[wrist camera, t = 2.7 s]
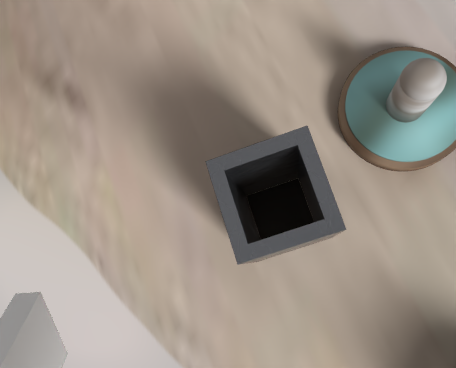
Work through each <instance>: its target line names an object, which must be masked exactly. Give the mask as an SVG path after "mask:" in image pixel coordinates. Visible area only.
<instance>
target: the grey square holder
mask: <svg viewBox="0 0 456 368" xmlns="http://www.w3.org/2000/svg"><path fill="white" fill-rule="evenodd" d="M206 165H207V168H208V171H209V174H210V177H211V181H212V184H213V187H214V190H215V193H216V197H217V200H218V203H219V206H220V210H221V213H222V216H223V219H224V222H225V226H226V229H227V232H228V235H229V238H230V242H231V245H232V248H233V251H234V254H235V258H236V261H237V264H245V263H252V262H258V261H261V260H264V259H267V258H270V257H273V256H276V255H279V254H283V253H286V252H289V251H292V250H295V249H298V248H301V247H304V246H307V245H310V244H314V243H317V242H320V241H323V240H326V239H329V238H332V237H334V236H335V235H337V234H339V233H341V232H343V231H344V230H346V227H345V225H344V222H343V219H342V217H341V214H340V211H339V209H338V206H337V203H336V201H335V198H334V195H333V193H332V190H331V187H330V185H329V182H328V179H327V177H326V174H325V171H324V169H323V166H322V163H321V161H320V158H319V155H318V153H317V150H316V147H315V145H314V142H313V139H312V137H311V134H310V131H309V129H308V126H305V127H302V128H299V129H296V130H293V131H290V132H288V133H285V134H282V135H279V136H276V137H273V138H271V139H268V140H265V141H262V142H259V143H256V144H254V145H251V146H248V147H245V148H242V149H239V150H237V151H234V152H231V153H228V154H225V155H222V156H220V157H217V158H214V159H211V160H208V161H206ZM295 179H299V182H300V185H301V188H302V190H303V193H304V196H305V199H306V202H307V204H308V207H309V210H310V213H311V215H312V218H313V221H314V223H311V224H308V225H305V226H302V227H299V228H296V229H293V230H290V231H287V232H284V233H281V234H278V235H274V236H271V237H268V238H265V239H262V240H261V238H260V235H259V232H258V229H257V226H256V223H255V220H254V217H253V214H252V211H251V208H250V204H249V201H248V198H247V196H248V195H251V194H254V193H257V192H260V191H263V190H266V189H269V188H271V187H274V186H277V185H280V184H283V183H286V182H289V181H292V180H295Z"/></svg>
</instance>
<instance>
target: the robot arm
mask: <svg viewBox="0 0 456 368" xmlns="http://www.w3.org/2000/svg"><path fill="white" fill-rule="evenodd" d="M67 354H68V353H67V351H66V348H65V346H64V344H63V342H62V339H61V337H60V335H59V332H58V330H57V328H56V326H55V324H54V321H53V319H52V317H51V314H50V312H49V310H48V308H47V306H46V303H45V301H44V299H43V297H42V294H41V292H35V293H20V294H15V296H14V297H13V299H12V300H11V302H10V304H9V305H8V307H7V309H6V310H5V312H4V313H3V315H2V317H1V318H0V368H62V367H63V364H64V362H65V359H66V357H67Z"/></svg>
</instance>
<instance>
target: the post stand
mask: <svg viewBox="0 0 456 368" xmlns="http://www.w3.org/2000/svg"><path fill="white" fill-rule="evenodd" d="M338 120H339V126H340V129H341V132H342V134H343V136H344V138H345V140H346V142H347V143H348V145H349V146H350V147H351V148H352V150H353V151H354V152H355V153H356V154H357V155H359V156H360V157H361V158H362V159H364V160H365V161H367V162H369V163H371V164H373V165H375V166H377V167H380V168H383V169H387V170H392V171H413V170H418V169H422V168H425V167H428V166H430V165H433V164H434V163H436V162H438V161H440V160H441V159H443V158H444V157H446V156H447V155H448V154H450V153H451V152H452V151H453V150H454V149H455V148H456V67H455V66H454V65H453V64H452V63H451V62H449V61H448V60H447V59H445V58H444V57H442V56H440V55H438V54H436V53H434V52H432V51H428V50H425V49H421V48H415V47H396V48H391V49H387V50H383V51H380V52H378V53H376V54H373V55H372V56H370V57H368V58H366V59H365V60H364V61H362V62H361V63H360V64H359V65H358V66H357V67H356V68H355V69H354V70H353V71H352V72H351V74H350V75H349V77H348V78H347V80H346V82H345V84H344V86H343V89H342V92H341V96H340V100H339V105H338Z"/></svg>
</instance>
